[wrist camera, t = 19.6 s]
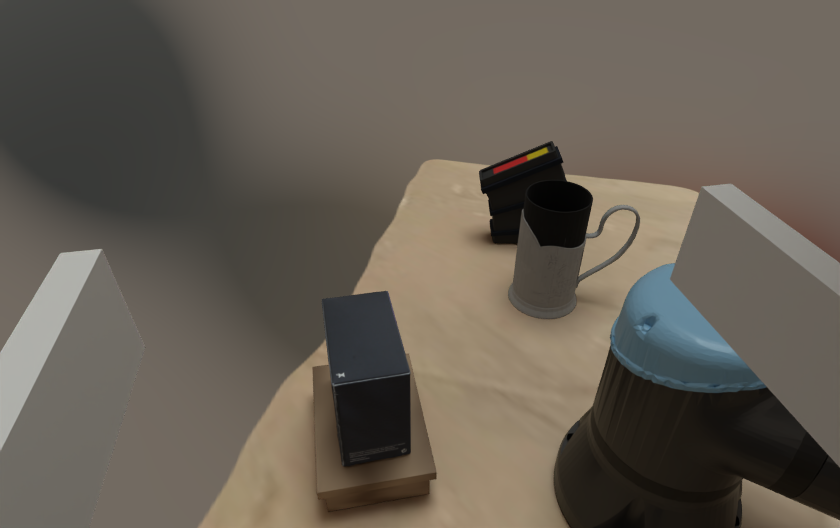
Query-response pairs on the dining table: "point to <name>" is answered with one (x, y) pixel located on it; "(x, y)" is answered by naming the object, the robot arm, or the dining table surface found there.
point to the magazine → (517, 187)
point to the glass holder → (555, 247)
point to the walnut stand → (375, 476)
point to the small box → (368, 377)
